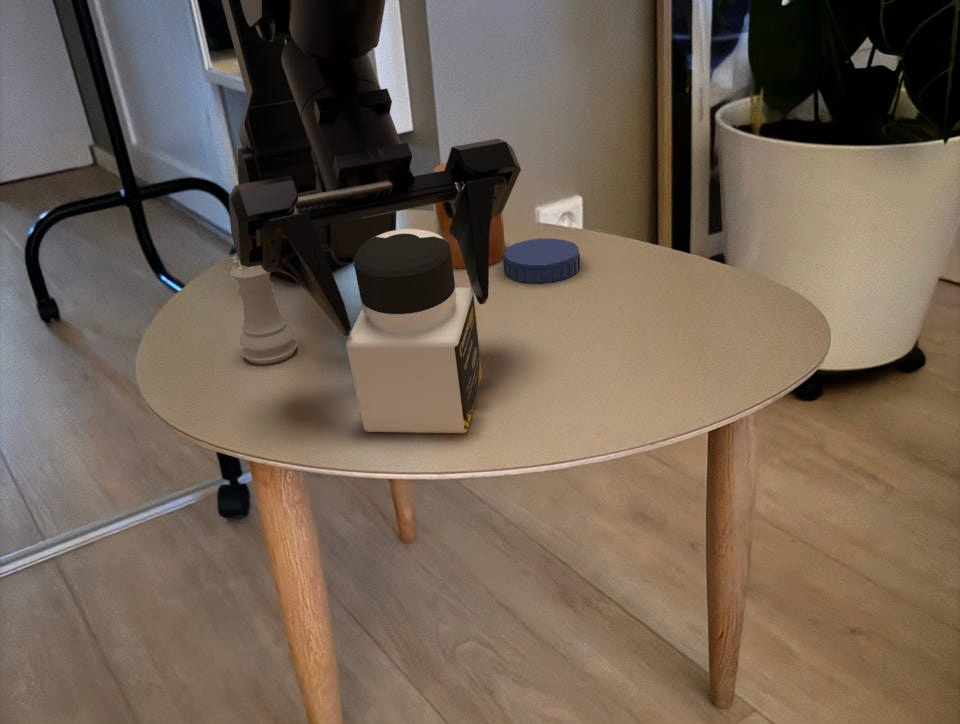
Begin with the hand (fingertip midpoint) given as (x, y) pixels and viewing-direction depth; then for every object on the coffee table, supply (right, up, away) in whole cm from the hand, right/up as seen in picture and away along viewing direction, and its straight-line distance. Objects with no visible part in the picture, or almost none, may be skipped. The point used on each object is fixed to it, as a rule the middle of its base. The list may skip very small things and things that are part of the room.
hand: (418, 316), depth 58 cm
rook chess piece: (-13, 0, +15) cm, 20 cm away
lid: (+10, +10, +25) cm, 28 cm away
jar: (+3, +11, +30) cm, 32 cm away
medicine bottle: (0, -5, +5) cm, 8 cm away
